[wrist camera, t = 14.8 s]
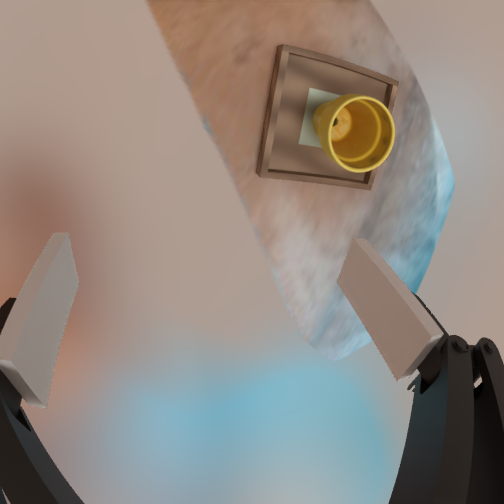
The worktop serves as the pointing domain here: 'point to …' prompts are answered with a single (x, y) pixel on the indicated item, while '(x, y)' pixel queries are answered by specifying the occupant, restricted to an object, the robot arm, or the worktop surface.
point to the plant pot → (355, 131)
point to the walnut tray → (301, 115)
